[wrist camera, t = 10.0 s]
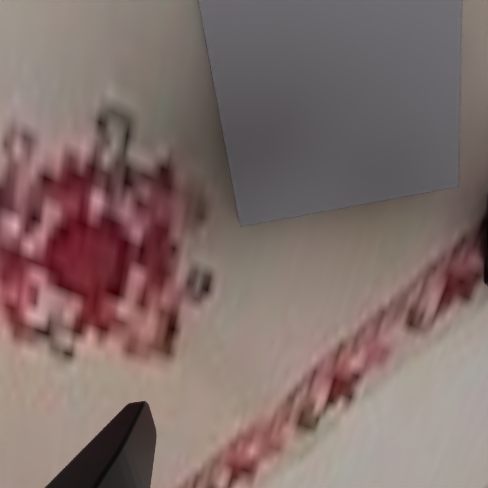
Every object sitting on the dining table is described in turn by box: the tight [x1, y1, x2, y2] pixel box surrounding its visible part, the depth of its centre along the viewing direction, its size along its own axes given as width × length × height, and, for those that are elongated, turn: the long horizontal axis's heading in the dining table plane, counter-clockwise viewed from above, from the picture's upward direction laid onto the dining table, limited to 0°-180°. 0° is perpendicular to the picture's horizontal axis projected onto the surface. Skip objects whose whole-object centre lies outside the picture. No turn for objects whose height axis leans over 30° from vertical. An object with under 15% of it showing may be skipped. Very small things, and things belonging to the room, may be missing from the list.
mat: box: [198, 0, 462, 227], centre depth 17 cm, size 12×12×2 cm
